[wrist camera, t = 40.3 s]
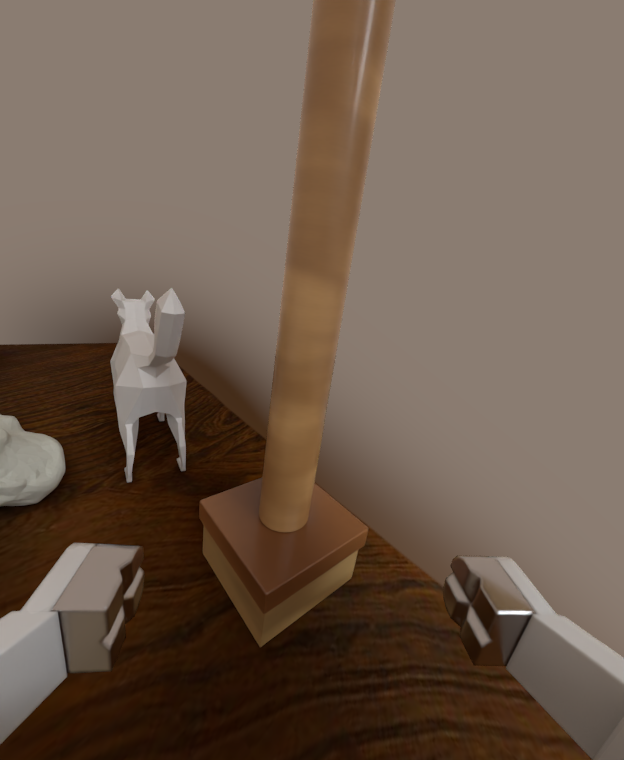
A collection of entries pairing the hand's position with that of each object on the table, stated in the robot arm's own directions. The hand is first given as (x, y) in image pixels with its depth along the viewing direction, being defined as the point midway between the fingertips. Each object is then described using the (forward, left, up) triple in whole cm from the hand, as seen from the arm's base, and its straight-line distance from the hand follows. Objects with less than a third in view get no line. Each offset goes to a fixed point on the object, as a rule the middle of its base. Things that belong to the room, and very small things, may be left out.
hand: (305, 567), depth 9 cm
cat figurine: (+13, -16, -9) cm, 23 cm away
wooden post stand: (+1, -7, -8) cm, 11 cm away
